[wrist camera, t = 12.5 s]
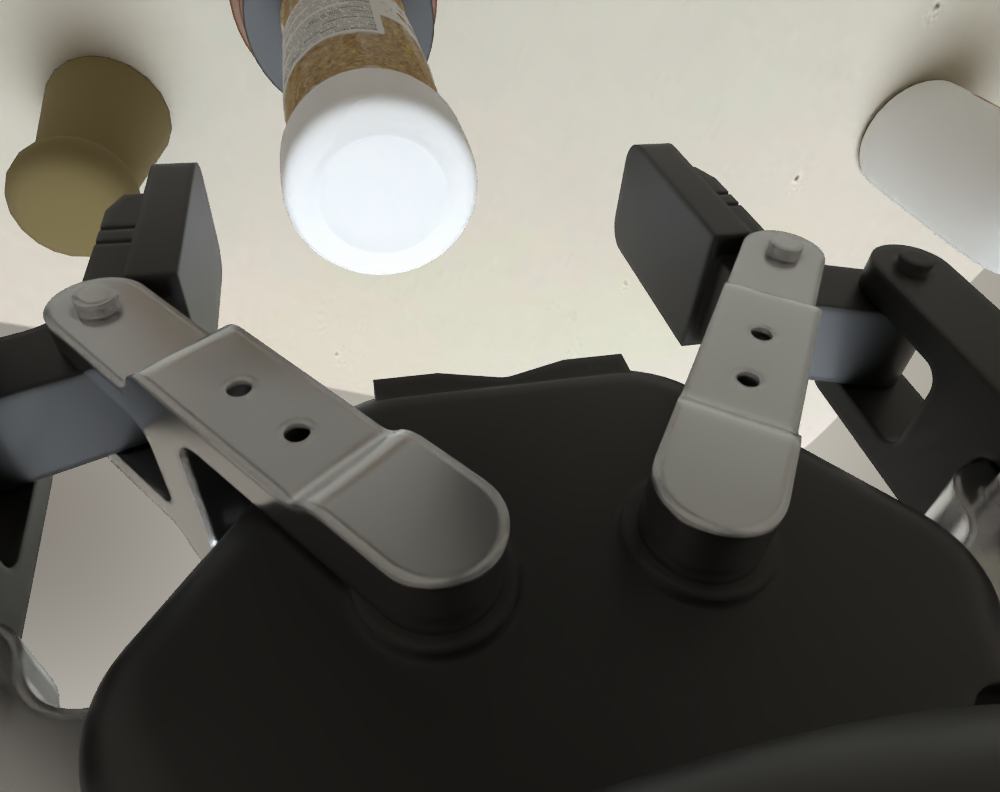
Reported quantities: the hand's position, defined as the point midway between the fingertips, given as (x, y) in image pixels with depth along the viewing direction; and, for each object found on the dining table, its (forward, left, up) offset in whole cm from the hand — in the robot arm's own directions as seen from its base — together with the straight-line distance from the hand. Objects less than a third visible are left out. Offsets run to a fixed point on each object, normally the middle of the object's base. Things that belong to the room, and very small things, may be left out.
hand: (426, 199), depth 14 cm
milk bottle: (+12, +38, -29) cm, 50 cm away
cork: (+9, -13, -29) cm, 33 cm away
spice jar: (+1, -1, -16) cm, 16 cm away
